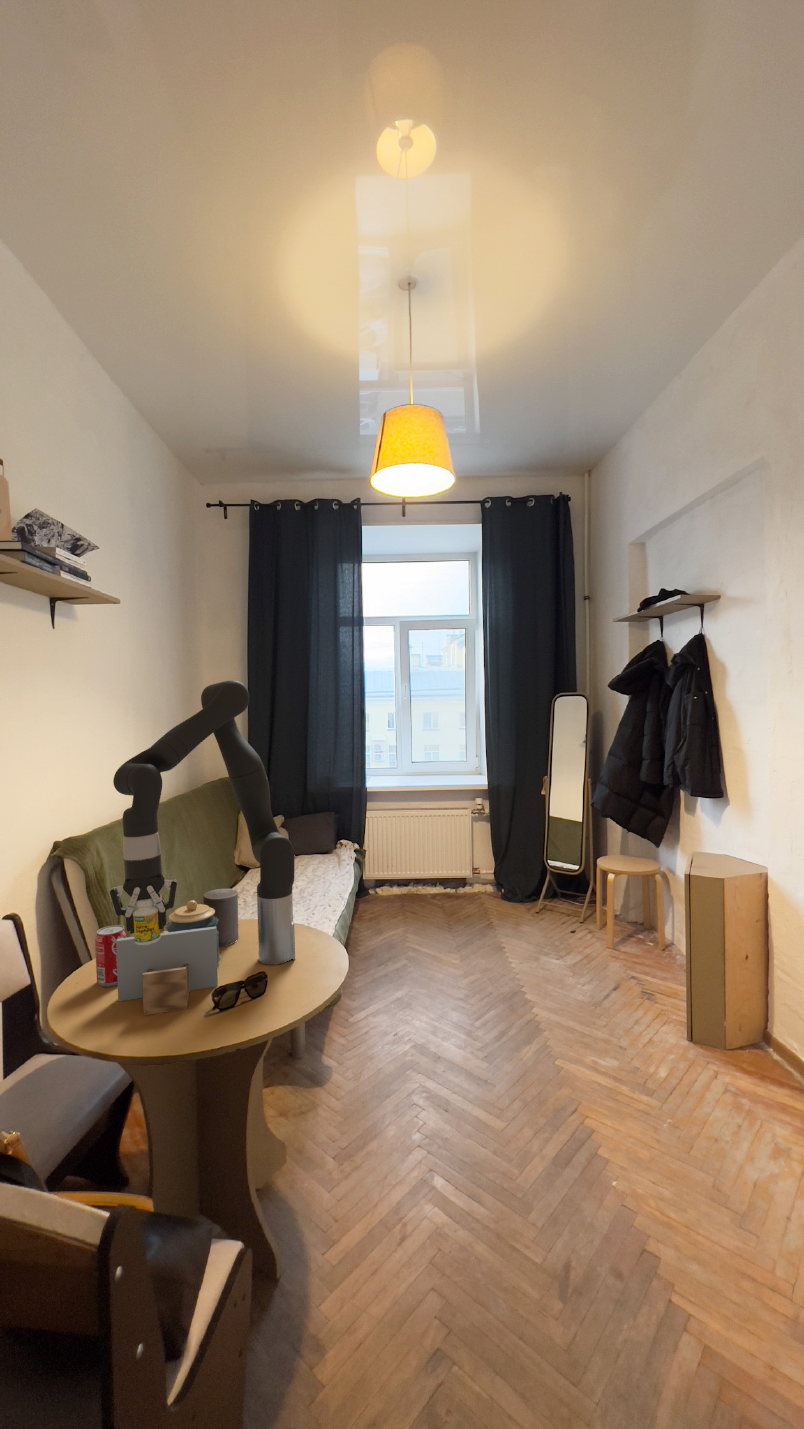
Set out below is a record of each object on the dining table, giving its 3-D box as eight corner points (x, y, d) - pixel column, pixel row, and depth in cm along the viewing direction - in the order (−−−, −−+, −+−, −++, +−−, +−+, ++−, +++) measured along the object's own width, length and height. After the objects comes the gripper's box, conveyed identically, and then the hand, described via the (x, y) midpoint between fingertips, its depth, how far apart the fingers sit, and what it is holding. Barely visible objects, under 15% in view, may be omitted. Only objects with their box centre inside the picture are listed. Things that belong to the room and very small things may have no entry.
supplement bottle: (162, 934, 136) (159, 892, 136) (158, 943, 131) (156, 900, 131) (136, 937, 135) (134, 895, 135) (132, 947, 130) (129, 903, 130)
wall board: (217, 983, 147) (216, 926, 147) (217, 986, 146) (215, 928, 145) (119, 998, 141) (117, 938, 140) (118, 1001, 139) (116, 941, 139)
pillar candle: (197, 946, 170) (196, 893, 170) (213, 933, 180) (212, 883, 180) (229, 948, 169) (228, 895, 168) (244, 934, 178) (243, 884, 178)
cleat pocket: (189, 990, 144) (188, 953, 144) (187, 1008, 135) (185, 968, 135) (148, 996, 141) (147, 958, 141) (143, 1015, 133) (142, 974, 132)
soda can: (116, 989, 145) (114, 935, 145) (90, 987, 147) (88, 934, 147) (134, 975, 152) (133, 924, 152) (109, 974, 154) (107, 923, 154)
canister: (185, 956, 164) (183, 891, 163) (229, 959, 161) (227, 893, 161) (156, 977, 151) (153, 907, 151) (203, 981, 148) (201, 910, 148)
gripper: (178, 846, 138) (182, 919, 139) (109, 854, 134) (114, 929, 135) (176, 854, 131) (180, 930, 132) (103, 862, 127) (108, 941, 127)
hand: (147, 929), depth 133 cm, fingers closed on supplement bottle, 5 cm apart
